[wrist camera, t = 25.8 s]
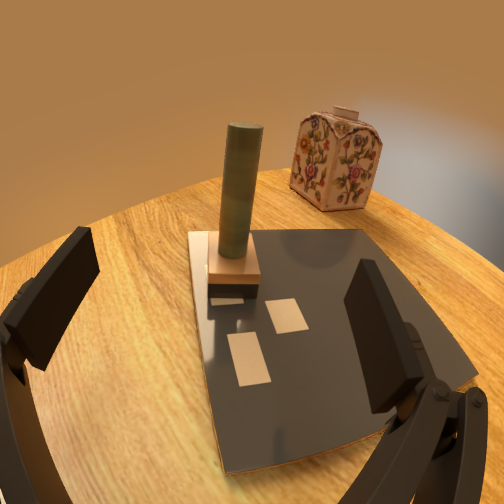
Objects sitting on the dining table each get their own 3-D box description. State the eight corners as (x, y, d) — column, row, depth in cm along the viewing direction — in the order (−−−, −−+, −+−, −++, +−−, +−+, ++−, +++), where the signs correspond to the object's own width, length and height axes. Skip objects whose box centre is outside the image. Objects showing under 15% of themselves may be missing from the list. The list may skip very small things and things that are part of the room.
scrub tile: (187, 239, 36) (187, 230, 35) (360, 235, 43) (362, 228, 42) (224, 476, 14) (225, 474, 13) (472, 379, 21) (479, 373, 20)
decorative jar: (321, 213, 47) (344, 109, 37) (286, 186, 56) (301, 97, 45) (367, 209, 52) (391, 121, 42) (331, 184, 60) (348, 107, 50)
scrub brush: (207, 254, 32) (216, 116, 23) (248, 255, 32) (267, 120, 24) (207, 298, 26) (216, 130, 18) (256, 298, 27) (284, 136, 18)
